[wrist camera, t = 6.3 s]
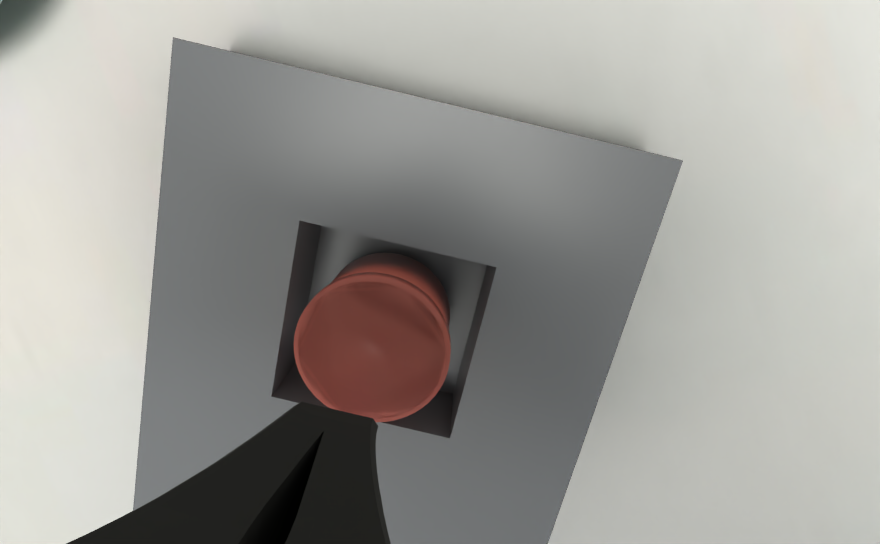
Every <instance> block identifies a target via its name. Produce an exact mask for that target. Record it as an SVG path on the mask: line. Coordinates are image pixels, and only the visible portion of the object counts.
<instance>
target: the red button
mask: <svg viewBox="0 0 880 544" xmlns="http://www.w3.org/2000/svg"><path fill="white" fill-rule="evenodd" d="M449 324H450V306H449V301H448V297H447V294H446V292H445V289H444V288H443V286H442V284H441V282H440V281H439V280H438V278H437V277H436V276H435V275H434V274H433V272H432V271H431V270H429V269H428V268H427V267H426V266H424V265H423V264H422V263H420V262H418V261H417V260H414V259H412V258H410V257H407V256H404V255H401V254H395V253H374V254H370V255H366V256H363V257H361V258H358V259H356V260H355V261H353V262H351V263H350V264H348V265H347V266H346V267H345V268H344V269H342V270H341V271H340V273H339V274H338V275H337V276H336V277H335V279H334V280H333V281H332V282H331V283H330V284H328V285H327V286H326V287H324V288H323V289H322V290H321V291H320V292H319V293H317V294H316V295H315V297H314V298H313V299H312V300H311V301H310V303H309V304H308V305H307V306H306V308H305V309H304V311H303V313H302V314H301V316H300V318H299V321H298V323H297V326H296V330H295V334H294V356H295V361H296V365H297V368H298V371H299V373H300V375H301V377H302V379H303V381H304V383H305V384H306V386H307V387H308V389H309V390H310V391H311V392H312V393H313V395H314V396H315V397H316V398H317V399H318V400H320V401H321V402H322V403H323V404H324V405H326V406H327V407H328V408H331V409H335V410H339V411H344V412H348V413H352V414H356V415H361V416H365V417H369V418H373V419H374V420H375V422H388V421H393V420H398V419H401V418H404V417H407V416H409V415H411V414H413V413H415V412H417V411H418V410H420V409H421V408H423V407H424V406H425V405H426V404H428V403H429V402H430V401H431V400H432V399H433V398H434V397H435V395H436V394H437V393H438V391H439V390H440V388H441V387H442V385H443V383H444V381H445V378H446V375H447V372H448V369H449V363H450V353H451V342H450V334H449Z"/></svg>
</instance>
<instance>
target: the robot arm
mask: <svg viewBox="0 0 880 544" xmlns="http://www.w3.org/2000/svg"><path fill="white" fill-rule="evenodd" d="M377 429H378V425H377V424H376V422H375V420H374V419H373V418H369V417H365V416H361V415H356V414H352V413H348V412H344V411H339V410H335V409H331V408H327V407H322V406H318V405H314V404H310V403H305V402H300V403H299V404H297V405H295V406H293V407H292V408H291V409H289V410H288V411H287V412H285V413H284V414H283V415H282V416H280V417H279V418H278V419H276V420H275V421H274V422H272V423H271V424H269V425H268V426H267V427H265V428H264V429H263V430H261V431H260V432H259V433H257V434H256V435H254V436H253V437H252V438H250V439H249V440H247V441H246V442H244V443H243V444H241V445H240V446H239V447H237V448H236V449H234V450H233V451H231V452H230V453H228V454H227V455H225V456H224V457H222V458H221V459H219V460H218V461H216V462H215V463H213V464H212V465H210V466H209V467H207V468H206V469H204V470H202V471H201V472H199V473H197V474H196V475H194V476H192V477H191V478H189V479H187V480H186V481H184V482H182V483H181V484H179V485H177V486H176V487H174V488H172V489H171V490H169V491H168V492H166V493H164V494H163V495H161V496H159V497H157V498H156V499H154V500H152V501H150V502H148V503H147V504H145V505H143V506H141V507H139V508H138V509H136V510H134V511H132V512H130V513H128V514H126V515H124V516H123V517H121V518H119V519H117V520H115V521H113V522H111V523H109V524H107V525H105V526H103V527H101V528H99V529H97V530H95V531H93V532H91V533H88V534H86V535H84V536H82V537H80V538H78V539H76V540H73V541H71V542H69V543H67V544H391V542H390V538H389V534H388V531H387V526H386V521H385V517H384V512H383V506H382V500H381V494H380V489H379V483H378V474H377V464H376V434H377Z"/></svg>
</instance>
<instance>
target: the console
mask: <svg viewBox="0 0 880 544" xmlns="http://www.w3.org/2000/svg"><path fill="white" fill-rule="evenodd" d="M682 162H683V160H678V159H674V158H670V157H666V156H662V155H658V154H654V153H649V152H645V151H641V150H637V149H633V148H629V147H625V146H621V145H616V144H612V143H608V142H604V141H600V140H596V139H592V138H587V137H583V136H579V135H575V134H571V133H567V132H563V131H558V130H554V129H550V128H546V127H542V126H538V125H534V124H529V123H525V122H521V121H517V120H513V119H509V118H505V117H501V116H496V115H492V114H488V113H484V112H480V111H476V110H472V109H467V108H463V107H459V106H455V105H451V104H447V103H443V102H438V101H434V100H430V99H426V98H422V97H418V96H414V95H409V94H405V93H401V92H397V91H393V90H389V89H385V88H380V87H376V86H372V85H368V84H364V83H360V82H356V81H352V80H347V79H343V78H339V77H335V76H331V75H327V74H323V73H318V72H314V71H310V70H306V69H302V68H298V67H294V66H289V65H285V64H281V63H277V62H273V61H269V60H265V59H260V58H256V57H252V56H248V55H244V54H240V53H236V52H232V51H227V50H223V49H219V48H215V47H211V46H207V45H203V44H198V43H194V42H190V41H186V40H182V39H178V38H174V37H173V44H172V56H171V67H170V79H169V91H168V103H167V115H166V127H165V139H164V151H163V162H162V174H161V186H160V198H159V210H158V222H157V234H156V246H155V257H154V269H153V281H152V293H151V305H150V317H149V329H148V341H147V352H146V364H145V376H144V388H143V400H142V412H141V424H140V436H139V447H138V459H137V471H136V483H135V495H134V507H133V511H134V510H136V509H138V508H139V507H141V506H143V505H145V504H147V503H148V502H150V501H152V500H154V499H156V498H157V497H159V496H161V495H163V494H164V493H166V492H168V491H169V490H171V489H172V488H174V487H176V486H177V485H179V484H181V483H182V482H184V481H186V480H187V479H189V478H191V477H192V476H194V475H196V474H197V473H199V472H201V471H202V470H204V469H206V468H207V467H209V466H210V465H212V464H213V463H215V462H216V461H218V460H219V459H221V458H222V457H224V456H225V455H227V454H228V453H230V452H231V451H233V450H234V449H236V448H237V447H239V446H240V445H241V444H243V443H244V442H246V441H247V440H249V439H250V438H252V437H253V436H254V435H256V434H257V433H259V432H260V431H261V430H263V429H264V428H265V427H267V426H268V425H269V424H271V423H272V422H274V421H275V420H276V419H278V418H279V417H280V416H282V415H283V414H284V413H285V412H287V411H288V410H289V409H291V408H292V407H293V406H295V405H297V404H299V403H300V402H305V403H310V404H314V405H318V406H322V407H327V406H326V405H324V404H323V403H322V402H321V401H320V400H318V399H317V398H316V397H315V396H314V395H313V393H312V392H311V391H310V390H309V389H308V387H307V386H306V384H305V383H304V381H303V379H302V377H301V375H300V373H299V371H298V368H297V365H296V361H295V356H294V334H295V330H296V326H297V323H298V321H299V318H300V316H301V314H302V313H303V311H304V309H305V308H306V306H307V305H308V304H309V303H310V301H311V300H312V299H313V298H314V297H315V295H316V294H317V293H319V292H320V291H321V290H322V289H323V288H324V287H326V286H327V285H328V284H330V283H331V282H332V281H333V280H334V279H335V277H336V276H337V275H338V274H339V273H340V271H341V270H342V269H344V268H345V267H346V266H347V265H348V264H350V263H351V262H353V261H355V260H356V259H358V258H361V257H363V256H366V255H370V254H374V253H395V254H401V255H404V256H407V257H410V258H412V259H414V260H417V261H418V262H420V263H422V264H423V265H424V266H426V267H427V268H428V269H429V270H431V271H432V272H433V274H434V275H435V276H436V277H437V278H438V280H439V281H440V282H441V284H442V286H443V288H444V289H445V292H446V294H447V297H448V301H449V306H450V324H449V334H450V342H451V353H450V363H449V369H448V372H447V375H446V378H445V381H444V383H443V385H442V387H441V388H440V390H439V391H438V393H437V394H436V395H435V397H434V398H433V399H432V400H431V401H430V402H429V403H428V404H426V405H425V406H424V407H423V408H421V409H420V410H418V411H417V412H415V413H413V414H411V415H409V416H407V417H404V418H401V419H398V420H393V421H388V422H376V424H377V425H378V429H377V434H376V464H377V474H378V483H379V489H380V494H381V500H382V506H383V512H384V517H385V521H386V526H387V531H388V534H389V538H390V542H391V544H548V541H549V538H550V535H551V532H552V530H553V527H554V524H555V521H556V518H557V515H558V513H559V510H560V507H561V504H562V501H563V498H564V496H565V493H566V490H567V487H568V484H569V481H570V479H571V476H572V473H573V470H574V467H575V465H576V462H577V459H578V456H579V453H580V450H581V448H582V445H583V442H584V439H585V436H586V433H587V431H588V428H589V425H590V422H591V419H592V416H593V414H594V411H595V408H596V405H597V402H598V399H599V397H600V394H601V391H602V388H603V385H604V382H605V380H606V377H607V374H608V371H609V368H610V365H611V363H612V360H613V357H614V354H615V351H616V348H617V346H618V343H619V340H620V337H621V334H622V332H623V329H624V326H625V323H626V320H627V317H628V315H629V312H630V309H631V306H632V303H633V300H634V298H635V295H636V292H637V289H638V286H639V283H640V281H641V278H642V275H643V272H644V269H645V266H646V264H647V261H648V258H649V255H650V252H651V249H652V247H653V244H654V241H655V238H656V235H657V232H658V230H659V227H660V224H661V221H662V218H663V215H664V213H665V210H666V207H667V204H668V201H669V198H670V196H671V193H672V190H673V187H674V184H675V182H676V179H677V176H678V173H679V170H680V167H681V165H682ZM327 408H328V407H327Z"/></svg>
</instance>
